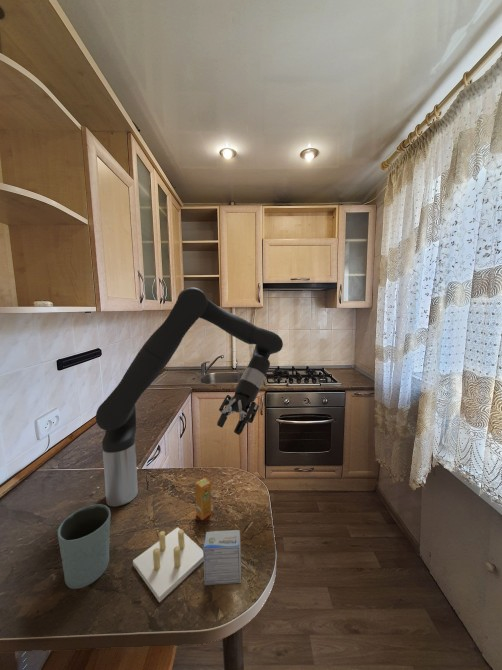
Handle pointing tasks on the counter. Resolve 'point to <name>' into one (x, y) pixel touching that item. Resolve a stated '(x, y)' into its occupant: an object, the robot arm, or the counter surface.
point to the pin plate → (168, 562)
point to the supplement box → (203, 498)
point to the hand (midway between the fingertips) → (227, 429)
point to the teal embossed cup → (85, 545)
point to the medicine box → (222, 557)
